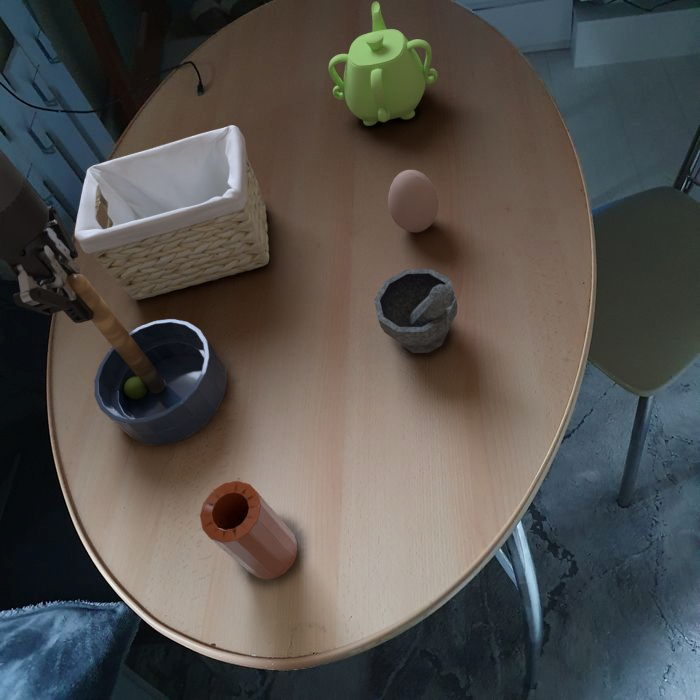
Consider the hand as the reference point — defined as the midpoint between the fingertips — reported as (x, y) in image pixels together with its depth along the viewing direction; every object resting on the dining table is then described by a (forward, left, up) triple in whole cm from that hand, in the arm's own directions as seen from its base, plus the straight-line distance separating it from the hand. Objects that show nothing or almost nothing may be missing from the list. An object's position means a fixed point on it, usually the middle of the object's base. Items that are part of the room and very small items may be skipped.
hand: (86, 308), depth 75 cm
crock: (-15, -24, -18) cm, 34 cm away
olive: (-1, +2, -16) cm, 16 cm away
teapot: (+61, -11, -18) cm, 65 cm away
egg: (+34, -25, -18) cm, 46 cm away
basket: (+24, +7, -18) cm, 31 cm away
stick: (0, 0, -17) cm, 17 cm away
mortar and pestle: (+16, -32, -18) cm, 40 cm away
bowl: (0, -2, -18) cm, 18 cm away
